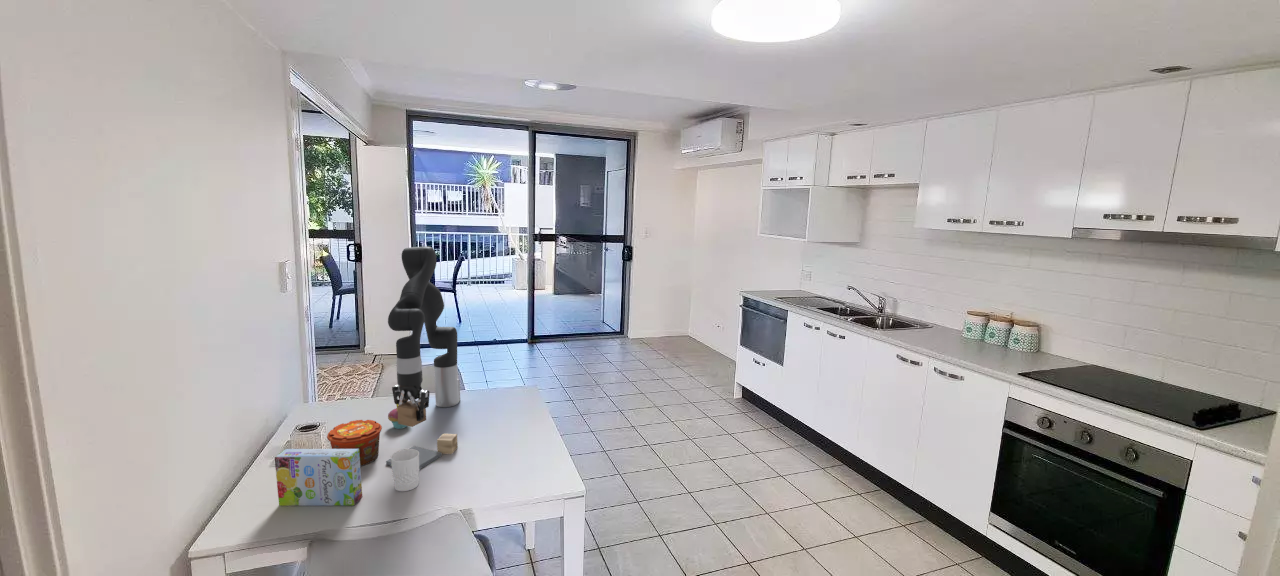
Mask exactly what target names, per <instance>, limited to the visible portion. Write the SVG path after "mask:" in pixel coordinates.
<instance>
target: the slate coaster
mask: <svg viewBox="0 0 1280 576" xmlns="http://www.w3.org/2000/svg"><path fill="white" fill-rule="evenodd" d="M408 449H415V450H417V451H419V470H421V469H422V468H424V467H425V466H427V465H429V464H431V463H432V462H434V461H435V460H437V459H439V458H441V457H442V456H443V454H442V453H441V452H438V450H437V451H436V450H433V449H429V448H425V447H422V446H418V445H413V446H411V447H409V448H408ZM385 463H386V464H385V465H387V466H390V467H392V466H391V458H390V459H388V460H386V461H385Z"/></svg>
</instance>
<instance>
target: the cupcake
mask: <svg viewBox="0 0 1280 576" xmlns="http://www.w3.org/2000/svg"><path fill="white" fill-rule="evenodd" d="M395 405H396V408H394V409H392V410H390V411H389V413H388V415H387V418H388V420H389V421H390V422H391V423H392V425H393V427H394V429H399V430H400V429H405V428H407V427H408V426H406V425H401V424H398V411H397V406H399V405H398V404H395Z"/></svg>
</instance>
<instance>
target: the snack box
mask: <svg viewBox="0 0 1280 576" xmlns="http://www.w3.org/2000/svg"><path fill="white" fill-rule="evenodd" d="M274 466H275V477H276V489H277V497H278V506H279V507H283V506H287V507H288V506H289V507H290V506H296V507H297V506H303V507H304V506H305V507H307V506H309V507H311V506H318V507H319V506H321V507H324V506H327V507H328V506H332V507H333V506H335V507H336V506H339V507H340V506H345V507H346V506H351V507H352V506H355V505H356V504H357V503H358V502H359V500H361V499H362V498H363V486H362V473H361V472H362V471H361V466H360V453H359V449H332V448H285V449H284V450H282V451H281V452H280V453H278V454H277V455H276V456H274Z"/></svg>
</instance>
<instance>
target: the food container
mask: <svg viewBox="0 0 1280 576" xmlns="http://www.w3.org/2000/svg"><path fill="white" fill-rule="evenodd" d="M382 429H383V427H382V425H381V424H380V423H379V422H377V421H376V420H372V419H366V420H363V419H355V420H351V421H349V422H347V423H340V424H337V425H336V426H334V427H333V428H332V429H330V431H329V432H328V433H327V434H326V437H327V438H326V439H327V440H328V441H329V443H330V448H331V449H359V453H360V467H362V466H366V465H368V464H371V463H373V462H375V460H376V459H377V458H378V456H379V451H380V438H381V437H380V434H381V432H382Z"/></svg>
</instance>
